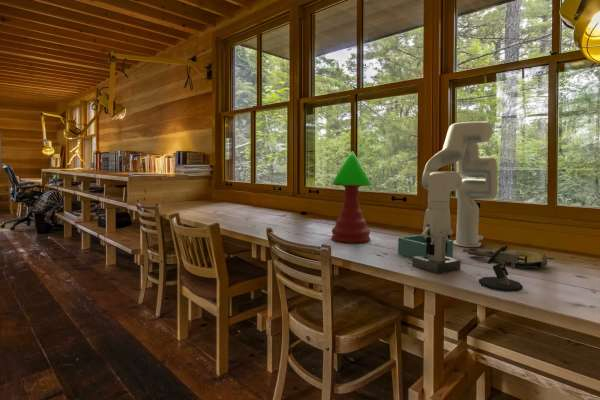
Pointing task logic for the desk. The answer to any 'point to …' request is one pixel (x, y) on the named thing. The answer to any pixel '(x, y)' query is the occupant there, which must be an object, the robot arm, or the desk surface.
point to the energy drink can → (439, 247)
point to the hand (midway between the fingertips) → (436, 253)
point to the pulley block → (533, 260)
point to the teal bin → (418, 246)
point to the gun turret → (500, 270)
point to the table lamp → (351, 203)
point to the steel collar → (436, 264)
